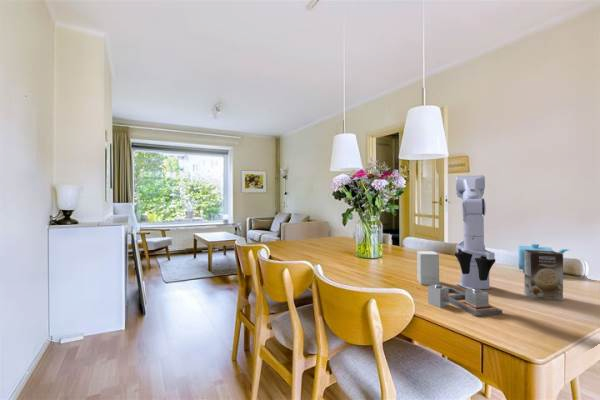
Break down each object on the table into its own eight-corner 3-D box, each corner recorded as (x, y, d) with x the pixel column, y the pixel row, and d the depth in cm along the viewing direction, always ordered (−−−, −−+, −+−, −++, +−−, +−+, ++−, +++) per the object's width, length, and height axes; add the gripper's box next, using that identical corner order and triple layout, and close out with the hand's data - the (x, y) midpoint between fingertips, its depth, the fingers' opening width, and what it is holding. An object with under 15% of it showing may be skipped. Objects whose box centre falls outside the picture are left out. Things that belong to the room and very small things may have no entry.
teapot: (519, 273, 134) (519, 245, 133) (518, 266, 146) (518, 240, 146) (573, 279, 123) (572, 248, 123) (566, 271, 136) (566, 243, 136)
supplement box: (439, 285, 119) (439, 254, 119) (420, 284, 120) (419, 254, 120) (435, 280, 126) (434, 251, 126) (417, 279, 128) (416, 250, 128)
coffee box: (531, 299, 102) (530, 252, 101) (523, 293, 108) (523, 249, 108) (564, 301, 99) (563, 254, 98) (554, 295, 105) (554, 250, 105)
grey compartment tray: (451, 290, 112) (451, 286, 112) (502, 313, 90) (502, 309, 90) (430, 292, 111) (430, 288, 111) (476, 316, 88) (475, 311, 88)
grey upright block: (436, 300, 102) (436, 282, 102) (448, 304, 98) (448, 285, 98) (428, 303, 100) (427, 284, 100) (440, 307, 96) (439, 287, 96)
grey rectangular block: (477, 306, 96) (477, 287, 96) (488, 312, 92) (488, 291, 91) (465, 307, 95) (465, 288, 95) (475, 313, 91) (475, 292, 91)
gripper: (447, 233, 102) (448, 272, 102) (479, 239, 88) (480, 284, 88) (465, 232, 103) (466, 270, 104) (500, 238, 89) (501, 282, 89)
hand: (474, 276), depth 96 cm, fingers open, 7 cm apart
